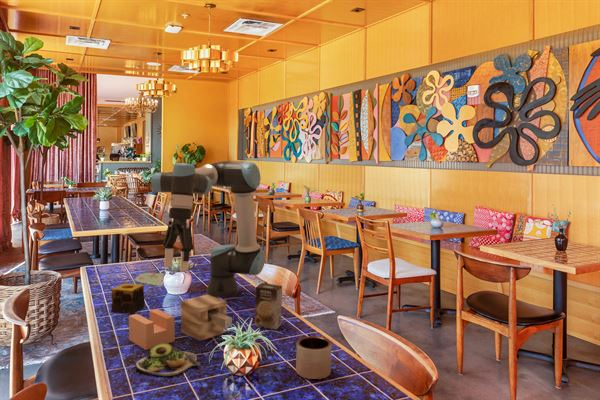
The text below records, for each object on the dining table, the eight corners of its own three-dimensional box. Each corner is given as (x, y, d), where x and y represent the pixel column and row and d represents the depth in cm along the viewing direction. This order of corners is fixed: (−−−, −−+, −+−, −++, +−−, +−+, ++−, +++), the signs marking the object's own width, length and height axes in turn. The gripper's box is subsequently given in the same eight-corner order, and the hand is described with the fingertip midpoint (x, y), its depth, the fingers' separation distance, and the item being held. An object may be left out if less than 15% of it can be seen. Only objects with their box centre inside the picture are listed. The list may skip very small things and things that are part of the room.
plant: (185, 281, 246) (185, 265, 245) (149, 289, 231) (149, 271, 231) (162, 273, 264) (162, 257, 263) (127, 279, 249) (127, 262, 248)
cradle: (157, 332, 173) (157, 308, 173) (174, 341, 165) (174, 316, 164) (129, 340, 166) (128, 315, 165) (146, 350, 157) (145, 324, 157)
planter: (308, 361, 151) (309, 333, 150) (337, 370, 145) (338, 341, 144) (288, 374, 142) (289, 343, 141) (318, 384, 136) (319, 353, 135)
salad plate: (213, 359, 152) (213, 346, 151) (180, 383, 135) (180, 368, 135) (164, 349, 159) (164, 336, 158) (127, 371, 142) (127, 357, 142)
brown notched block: (207, 324, 183) (207, 294, 182) (226, 332, 175) (226, 301, 174) (181, 331, 174) (181, 300, 173) (199, 340, 166) (199, 308, 165)
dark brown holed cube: (132, 314, 193) (132, 291, 192) (110, 312, 195) (110, 289, 194) (145, 306, 203) (145, 284, 202) (124, 304, 205) (124, 282, 204)
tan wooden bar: (196, 311, 180) (196, 303, 179) (231, 326, 165) (231, 317, 164) (189, 313, 178) (189, 305, 177) (225, 328, 162) (225, 319, 162)
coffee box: (254, 326, 181) (254, 286, 179) (260, 321, 187) (261, 282, 185) (276, 330, 178) (276, 289, 176) (282, 324, 184) (282, 285, 182)
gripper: (157, 206, 169) (151, 265, 167) (185, 206, 149) (180, 272, 148) (176, 208, 173) (171, 265, 172) (206, 208, 154) (201, 272, 152)
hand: (175, 269), depth 160 cm, fingers open, 13 cm apart
